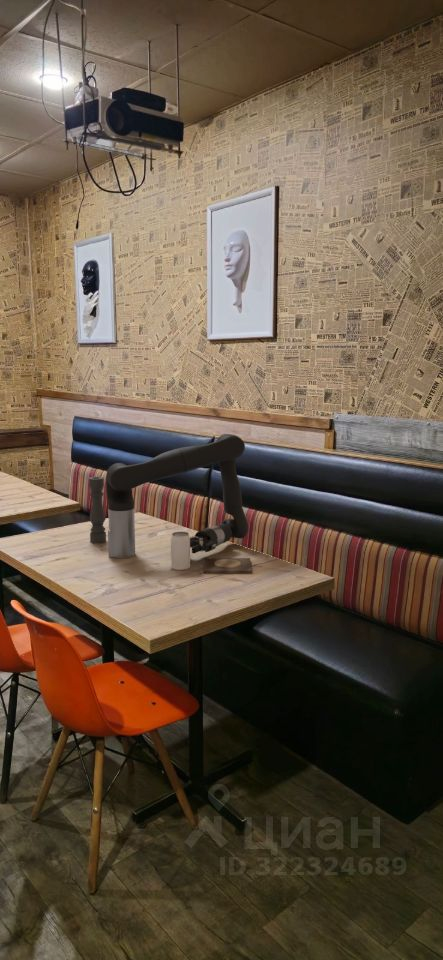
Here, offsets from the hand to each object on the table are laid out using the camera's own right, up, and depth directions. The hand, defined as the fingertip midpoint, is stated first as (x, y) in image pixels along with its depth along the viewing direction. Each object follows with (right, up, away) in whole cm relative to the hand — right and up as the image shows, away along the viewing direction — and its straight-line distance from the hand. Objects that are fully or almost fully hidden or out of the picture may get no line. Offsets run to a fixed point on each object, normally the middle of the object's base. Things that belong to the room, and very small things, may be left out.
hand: (182, 548), depth 228 cm
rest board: (+15, -6, +1) cm, 17 cm away
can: (-1, -7, 0) cm, 7 cm away
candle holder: (-35, -1, +33) cm, 48 cm away
